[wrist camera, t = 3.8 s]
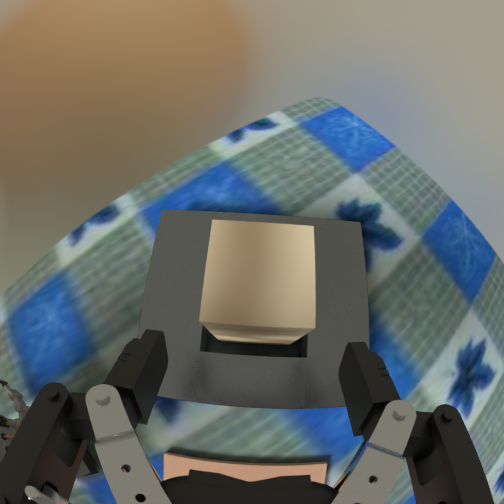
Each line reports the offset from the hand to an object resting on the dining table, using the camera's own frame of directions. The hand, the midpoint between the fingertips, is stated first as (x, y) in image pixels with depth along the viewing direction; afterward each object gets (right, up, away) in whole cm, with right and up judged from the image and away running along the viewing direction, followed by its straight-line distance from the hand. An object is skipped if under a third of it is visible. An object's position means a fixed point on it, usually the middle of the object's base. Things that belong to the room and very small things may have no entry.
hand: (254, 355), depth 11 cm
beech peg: (0, 0, +9) cm, 9 cm away
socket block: (0, 0, +9) cm, 9 cm away
